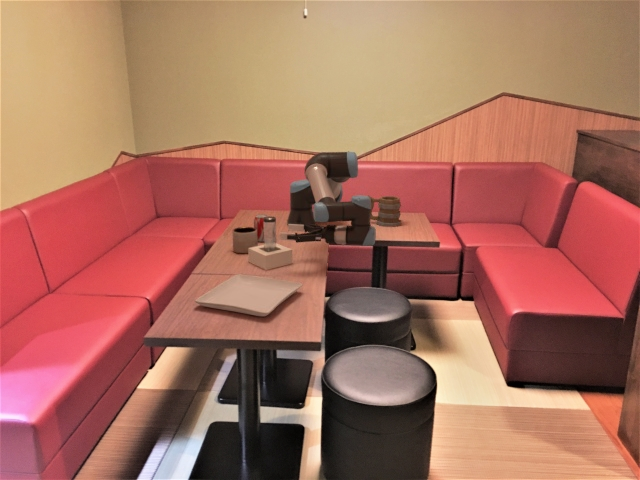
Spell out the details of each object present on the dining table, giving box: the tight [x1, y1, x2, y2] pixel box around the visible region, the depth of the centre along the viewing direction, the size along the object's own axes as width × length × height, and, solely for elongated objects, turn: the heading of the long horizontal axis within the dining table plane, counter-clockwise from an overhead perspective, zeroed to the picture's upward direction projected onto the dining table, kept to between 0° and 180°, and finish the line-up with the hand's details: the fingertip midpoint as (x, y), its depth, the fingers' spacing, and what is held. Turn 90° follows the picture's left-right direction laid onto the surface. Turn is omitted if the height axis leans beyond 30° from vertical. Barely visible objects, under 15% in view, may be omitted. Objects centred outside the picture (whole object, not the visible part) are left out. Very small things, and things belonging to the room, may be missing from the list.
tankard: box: [367, 195, 402, 228], centre depth 277 cm, size 20×13×15 cm, turn 78°
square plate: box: [194, 273, 303, 317], centre depth 177 cm, size 27×27×4 cm
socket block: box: [247, 242, 294, 271], centre depth 214 cm, size 13×13×6 cm
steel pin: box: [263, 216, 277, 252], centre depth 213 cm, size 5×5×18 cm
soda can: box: [253, 214, 268, 243], centre depth 245 cm, size 7×7×12 cm
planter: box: [232, 226, 259, 255], centre depth 230 cm, size 11×11×10 cm
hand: (284, 231), depth 210 cm, fingers open, 13 cm apart
